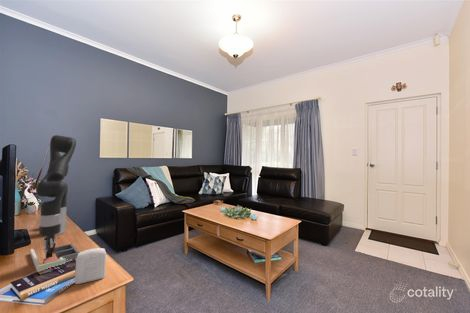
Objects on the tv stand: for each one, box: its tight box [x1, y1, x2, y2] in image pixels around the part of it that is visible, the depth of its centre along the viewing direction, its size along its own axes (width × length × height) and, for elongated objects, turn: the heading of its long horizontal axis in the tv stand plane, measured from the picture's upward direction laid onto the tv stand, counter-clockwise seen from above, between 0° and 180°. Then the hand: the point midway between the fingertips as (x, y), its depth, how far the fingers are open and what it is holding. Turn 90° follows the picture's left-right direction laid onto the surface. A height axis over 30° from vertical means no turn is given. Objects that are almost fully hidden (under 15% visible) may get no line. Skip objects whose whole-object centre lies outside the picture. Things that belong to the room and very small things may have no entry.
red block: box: [42, 255, 59, 264], centre depth 94 cm, size 6×4×4 cm
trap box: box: [30, 243, 81, 272], centre depth 103 cm, size 30×16×4 cm, turn 49°
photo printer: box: [74, 247, 107, 285], centre depth 85 cm, size 10×4×12 cm, turn 123°
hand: (48, 260), depth 97 cm, fingers closed
